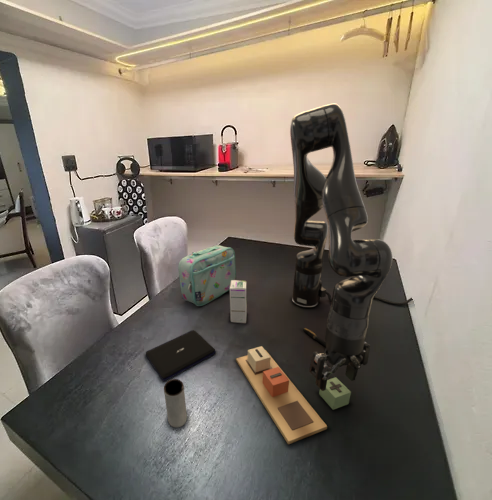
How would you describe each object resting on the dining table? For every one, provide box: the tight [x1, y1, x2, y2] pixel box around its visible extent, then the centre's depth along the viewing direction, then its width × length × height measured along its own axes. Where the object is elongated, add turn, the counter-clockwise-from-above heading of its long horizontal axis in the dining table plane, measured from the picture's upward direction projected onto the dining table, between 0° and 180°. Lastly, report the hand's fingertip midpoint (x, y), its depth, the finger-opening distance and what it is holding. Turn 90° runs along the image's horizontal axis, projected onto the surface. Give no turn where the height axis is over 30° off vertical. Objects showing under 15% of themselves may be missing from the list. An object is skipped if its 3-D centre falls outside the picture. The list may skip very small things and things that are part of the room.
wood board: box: [235, 349, 328, 445], centre depth 68 cm, size 10×25×1 cm, turn 17°
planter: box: [163, 378, 188, 429], centre depth 61 cm, size 4×4×10 cm
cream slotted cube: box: [247, 345, 272, 372], centre depth 74 cm, size 5×5×4 cm
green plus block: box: [318, 376, 352, 411], centre depth 64 cm, size 5×5×4 cm
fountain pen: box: [302, 327, 326, 348], centre depth 83 cm, size 14×1×2 cm, turn 25°
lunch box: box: [177, 244, 237, 307], centre depth 110 cm, size 27×10×21 cm, turn 131°
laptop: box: [145, 329, 217, 382], centre depth 82 cm, size 16×20×2 cm
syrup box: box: [229, 279, 248, 324], centre depth 95 cm, size 6×6×14 cm
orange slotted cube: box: [263, 366, 290, 397], centre depth 67 cm, size 5×5×4 cm
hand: (335, 382), depth 63 cm, fingers open, 8 cm apart
